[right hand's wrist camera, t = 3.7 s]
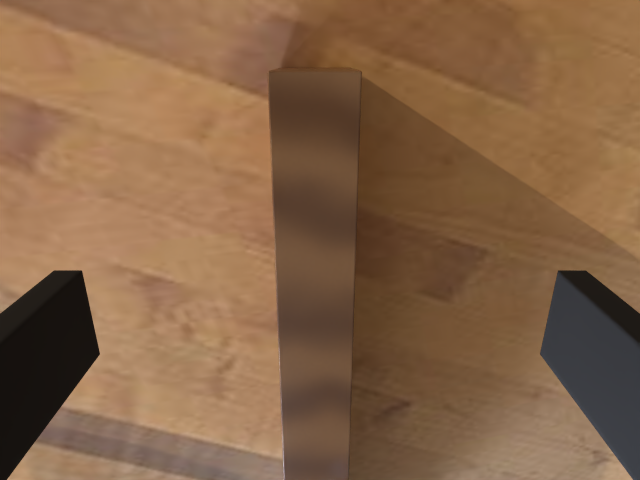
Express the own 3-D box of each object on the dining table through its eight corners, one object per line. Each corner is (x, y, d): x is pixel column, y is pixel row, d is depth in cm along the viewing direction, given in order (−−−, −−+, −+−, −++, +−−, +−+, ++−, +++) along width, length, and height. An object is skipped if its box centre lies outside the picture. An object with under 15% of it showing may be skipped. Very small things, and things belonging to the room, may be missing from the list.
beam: (278, 67, 29) (267, 70, 22) (351, 67, 29) (361, 70, 22) (295, 590, 48) (291, 676, 42) (338, 590, 48) (342, 675, 42)
